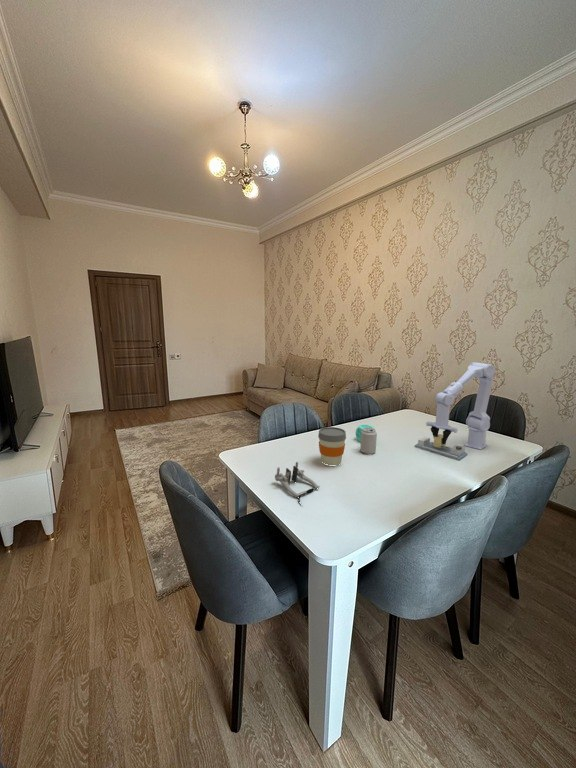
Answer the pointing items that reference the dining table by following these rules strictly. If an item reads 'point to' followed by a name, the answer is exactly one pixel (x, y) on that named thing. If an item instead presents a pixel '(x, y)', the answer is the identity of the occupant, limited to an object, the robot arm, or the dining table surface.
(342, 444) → the reusable coffee cup
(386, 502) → the dining table surface
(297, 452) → the dining table surface
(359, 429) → the teal ball
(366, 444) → the can
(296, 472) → the bike brake
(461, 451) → the free jaw
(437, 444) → the wooden block
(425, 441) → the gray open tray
